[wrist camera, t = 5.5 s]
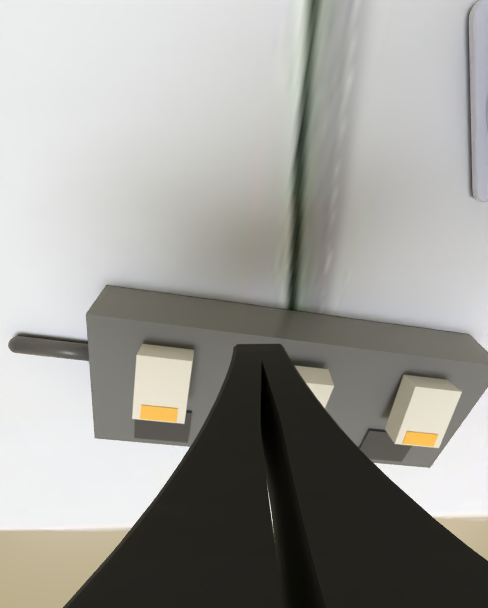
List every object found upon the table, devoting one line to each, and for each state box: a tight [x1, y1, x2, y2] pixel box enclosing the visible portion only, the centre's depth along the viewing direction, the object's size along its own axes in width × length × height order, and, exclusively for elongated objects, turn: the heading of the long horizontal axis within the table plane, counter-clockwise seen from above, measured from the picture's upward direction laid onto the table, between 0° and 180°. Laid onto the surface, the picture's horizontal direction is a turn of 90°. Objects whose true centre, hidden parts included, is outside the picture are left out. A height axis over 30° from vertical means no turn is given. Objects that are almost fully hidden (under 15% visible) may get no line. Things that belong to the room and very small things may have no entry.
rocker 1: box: [132, 344, 194, 424], centre depth 17 cm, size 3×4×1 cm
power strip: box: [8, 285, 488, 468], centre depth 20 cm, size 28×9×3 cm, turn 80°
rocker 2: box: [294, 365, 334, 408], centre depth 18 cm, size 3×4×1 cm
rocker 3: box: [385, 375, 462, 448], centre depth 19 cm, size 3×4×1 cm
